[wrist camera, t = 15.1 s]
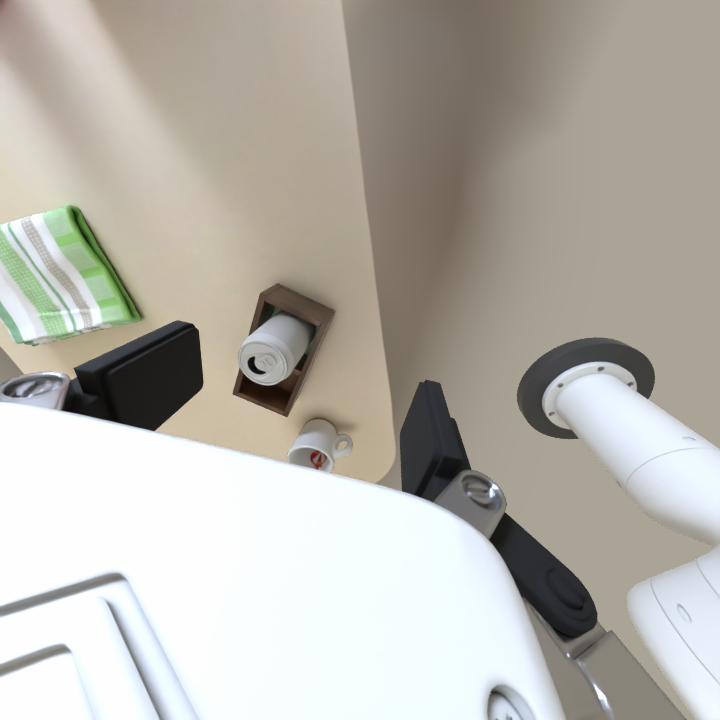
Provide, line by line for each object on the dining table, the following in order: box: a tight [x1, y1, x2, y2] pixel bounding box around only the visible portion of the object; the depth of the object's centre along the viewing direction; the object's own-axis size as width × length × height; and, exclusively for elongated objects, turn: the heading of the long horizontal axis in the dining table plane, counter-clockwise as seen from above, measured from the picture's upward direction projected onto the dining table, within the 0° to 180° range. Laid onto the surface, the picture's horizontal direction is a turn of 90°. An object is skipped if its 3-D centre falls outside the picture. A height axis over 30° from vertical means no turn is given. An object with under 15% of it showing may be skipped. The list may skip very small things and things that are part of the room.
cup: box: [287, 419, 353, 473], centre depth 47 cm, size 11×8×8 cm
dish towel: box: [0, 206, 141, 346], centre depth 40 cm, size 17×23×4 cm
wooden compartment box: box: [233, 284, 335, 417], centre depth 40 cm, size 9×18×6 cm, turn 155°
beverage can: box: [238, 310, 315, 385], centre depth 35 cm, size 6×6×12 cm
